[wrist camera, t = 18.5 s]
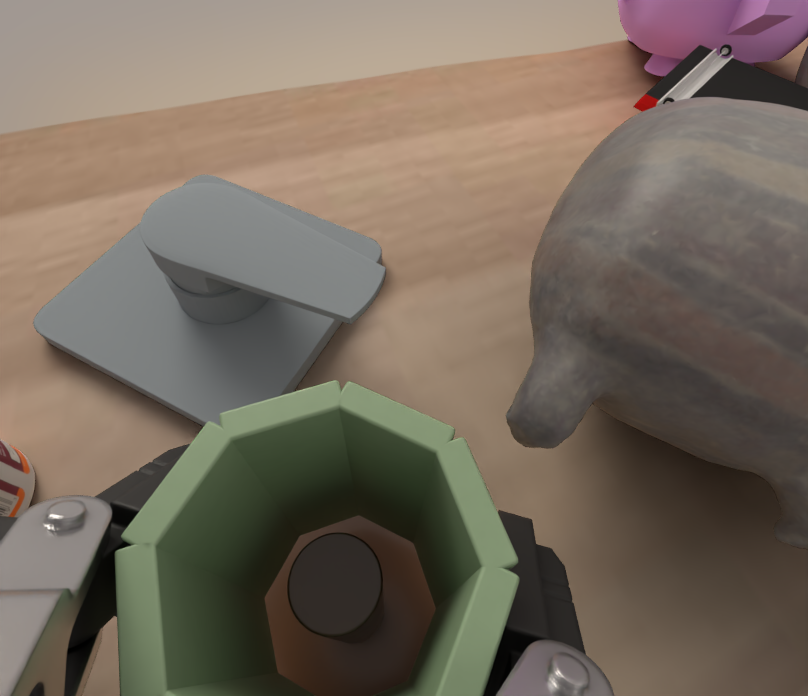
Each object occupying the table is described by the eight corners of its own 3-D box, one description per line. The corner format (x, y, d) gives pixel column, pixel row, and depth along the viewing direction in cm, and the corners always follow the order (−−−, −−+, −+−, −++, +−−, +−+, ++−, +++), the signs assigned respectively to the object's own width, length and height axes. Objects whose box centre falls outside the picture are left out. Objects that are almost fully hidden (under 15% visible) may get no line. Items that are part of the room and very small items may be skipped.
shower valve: (278, 427, 15) (-54, 256, 18) (303, 480, 20) (34, 335, 23) (442, 192, 21) (171, 94, 24) (432, 275, 26) (205, 183, 29)
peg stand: (291, 749, 15) (208, 834, 8) (256, 556, 18) (172, 492, 11) (466, 672, 17) (528, 687, 9) (407, 503, 19) (419, 414, 12)
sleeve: (270, 770, 12) (126, 914, 5) (233, 538, 15) (109, 442, 8) (481, 676, 13) (580, 698, 7) (410, 478, 16) (428, 351, 9)
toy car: (907, 113, 26) (853, 170, 30) (701, 32, 31) (676, 90, 34) (847, 183, 25) (798, 234, 28) (639, 87, 29) (620, 142, 33)
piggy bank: (958, 326, 23) (1583, 253, 10) (738, 583, 25) (1011, 837, 11) (626, 138, 27) (736, -104, 14) (454, 369, 29) (396, 361, 15)
